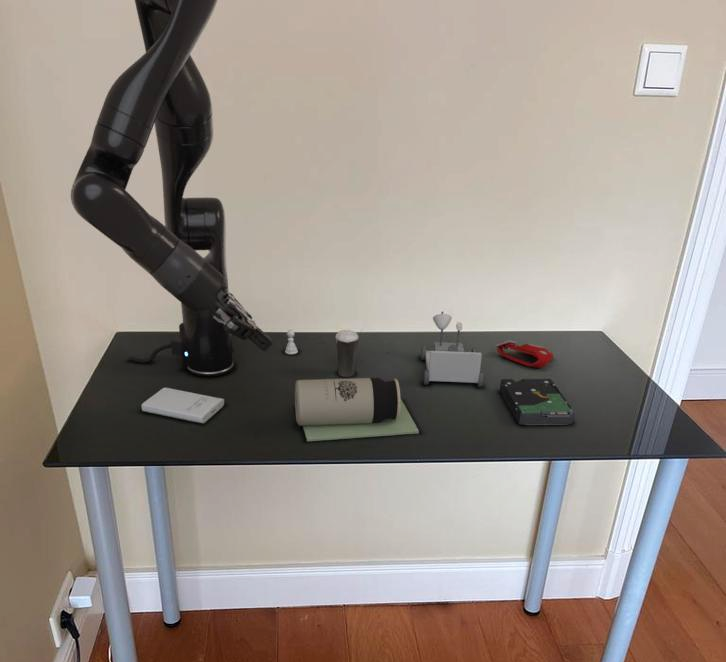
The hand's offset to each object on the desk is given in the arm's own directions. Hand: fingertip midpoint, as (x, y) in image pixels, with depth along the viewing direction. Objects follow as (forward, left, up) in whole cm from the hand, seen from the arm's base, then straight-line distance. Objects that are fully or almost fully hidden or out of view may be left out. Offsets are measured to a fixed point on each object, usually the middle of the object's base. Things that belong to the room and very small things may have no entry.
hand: (268, 345), depth 127 cm
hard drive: (-18, 0, -15) cm, 23 cm away
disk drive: (+43, +25, -15) cm, 53 cm away
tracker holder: (+38, +48, -15) cm, 63 cm away
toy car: (+24, +36, -15) cm, 46 cm away
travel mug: (+4, +2, -11) cm, 12 cm away
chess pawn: (-10, +32, -15) cm, 37 cm away
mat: (+13, +8, -15) cm, 22 cm away
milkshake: (+5, +26, -15) cm, 31 cm away
